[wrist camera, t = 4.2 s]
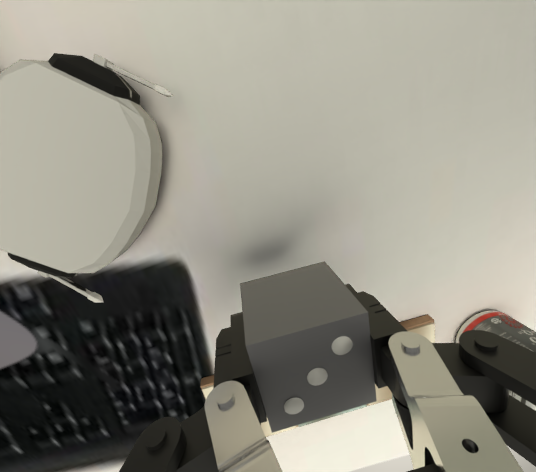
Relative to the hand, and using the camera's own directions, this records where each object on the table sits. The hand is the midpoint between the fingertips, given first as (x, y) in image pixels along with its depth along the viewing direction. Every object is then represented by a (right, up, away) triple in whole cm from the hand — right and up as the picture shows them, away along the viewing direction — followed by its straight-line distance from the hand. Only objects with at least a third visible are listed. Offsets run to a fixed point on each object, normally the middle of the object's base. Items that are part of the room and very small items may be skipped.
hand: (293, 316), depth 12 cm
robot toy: (-15, +9, +4) cm, 18 cm away
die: (0, 0, +1) cm, 1 cm away
